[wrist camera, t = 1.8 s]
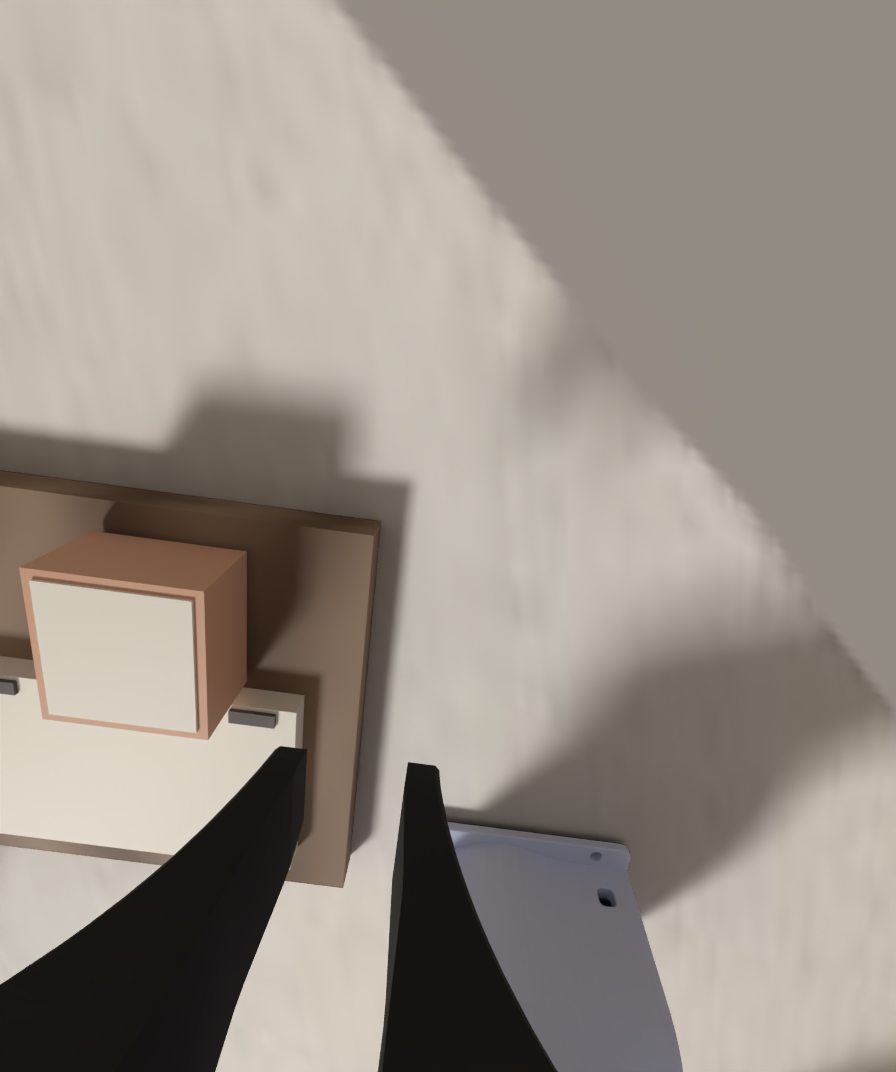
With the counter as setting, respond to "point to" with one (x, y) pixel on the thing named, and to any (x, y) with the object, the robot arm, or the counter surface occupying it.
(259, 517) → the board
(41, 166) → the counter surface
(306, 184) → the counter surface
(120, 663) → the small tan block
